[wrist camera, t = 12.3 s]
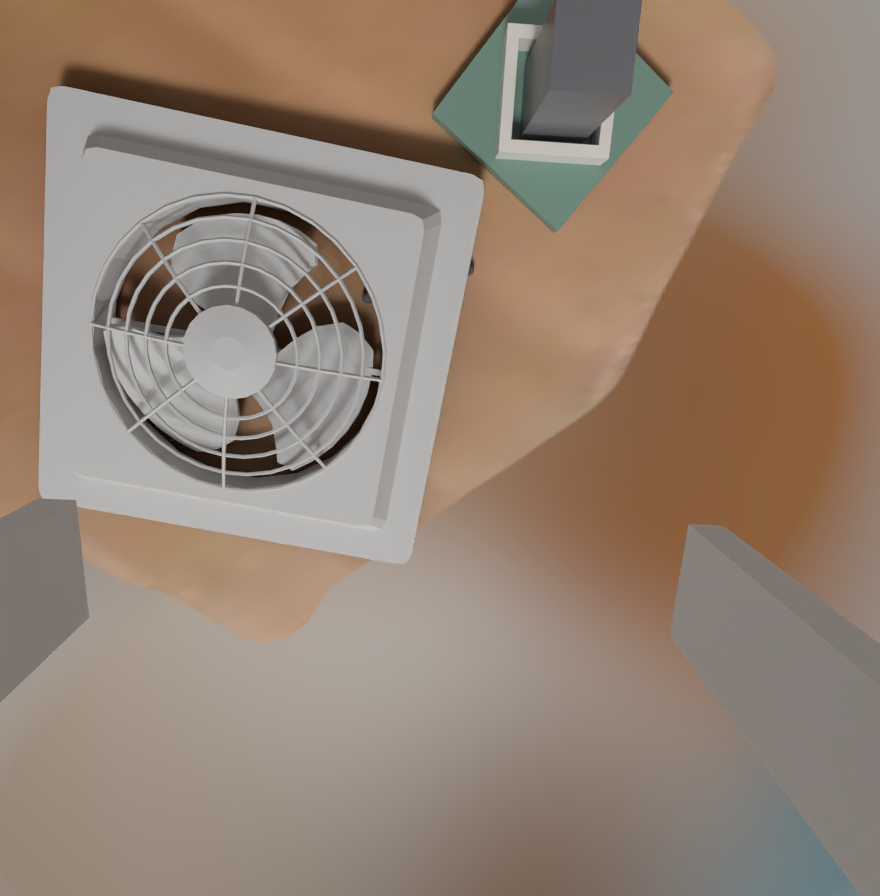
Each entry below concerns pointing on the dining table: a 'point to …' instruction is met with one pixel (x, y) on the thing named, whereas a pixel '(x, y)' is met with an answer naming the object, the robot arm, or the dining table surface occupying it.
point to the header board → (499, 116)
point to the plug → (579, 68)
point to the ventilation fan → (243, 324)
